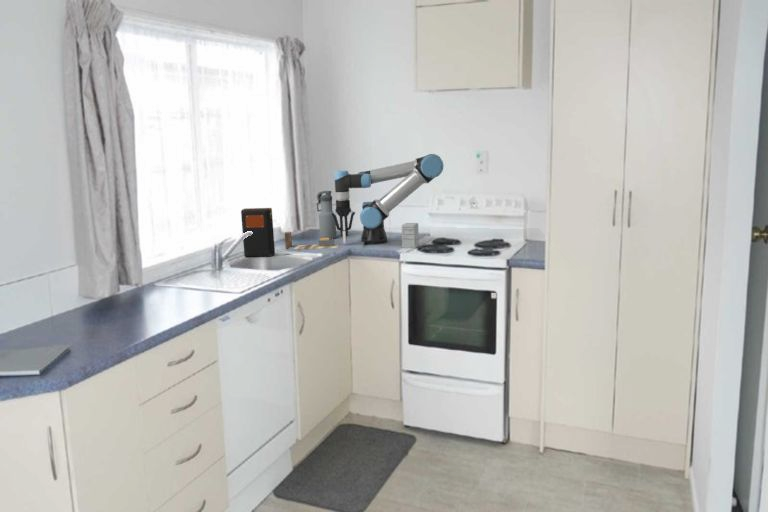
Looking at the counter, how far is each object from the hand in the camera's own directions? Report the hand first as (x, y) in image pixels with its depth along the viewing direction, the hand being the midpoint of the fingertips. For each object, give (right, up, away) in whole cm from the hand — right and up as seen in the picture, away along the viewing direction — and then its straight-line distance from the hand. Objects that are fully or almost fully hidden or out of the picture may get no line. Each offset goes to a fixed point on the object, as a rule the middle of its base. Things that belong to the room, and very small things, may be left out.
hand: (344, 242), depth 376 cm
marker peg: (-31, -4, +2) cm, 31 cm away
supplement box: (+36, -3, -6) cm, 36 cm away
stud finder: (-10, -2, +1) cm, 10 cm away
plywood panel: (-15, -3, -1) cm, 15 cm away
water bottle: (-12, +3, +32) cm, 35 cm away
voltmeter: (-44, -8, -15) cm, 47 cm away
